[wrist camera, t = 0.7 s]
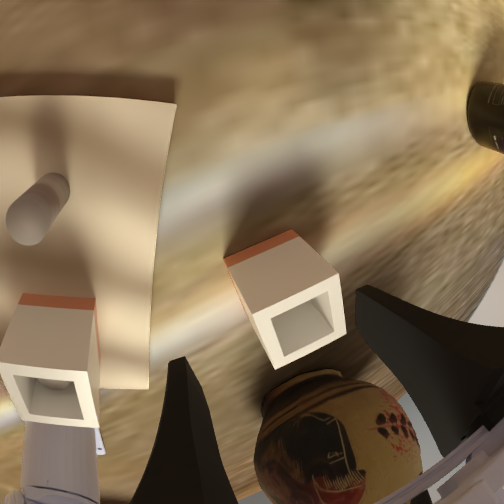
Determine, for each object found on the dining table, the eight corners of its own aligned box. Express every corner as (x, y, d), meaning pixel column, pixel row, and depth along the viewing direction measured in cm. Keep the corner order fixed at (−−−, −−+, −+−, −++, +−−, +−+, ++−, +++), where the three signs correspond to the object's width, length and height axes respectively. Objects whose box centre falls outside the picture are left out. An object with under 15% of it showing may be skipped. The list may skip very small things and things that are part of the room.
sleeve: (305, 284, 24) (346, 333, 19) (245, 312, 23) (274, 369, 18) (291, 228, 21) (338, 273, 16) (223, 258, 21) (252, 314, 16)
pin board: (147, 375, 23) (155, 436, 18) (11, 365, 19) (-3, 423, 14) (174, 104, 15) (188, 104, 10) (-19, 98, 11) (-76, 105, 6)
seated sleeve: (100, 357, 19) (99, 428, 14) (35, 352, 17) (21, 419, 12) (95, 298, 17) (87, 371, 12) (22, 292, 16) (-5, 361, 10)
